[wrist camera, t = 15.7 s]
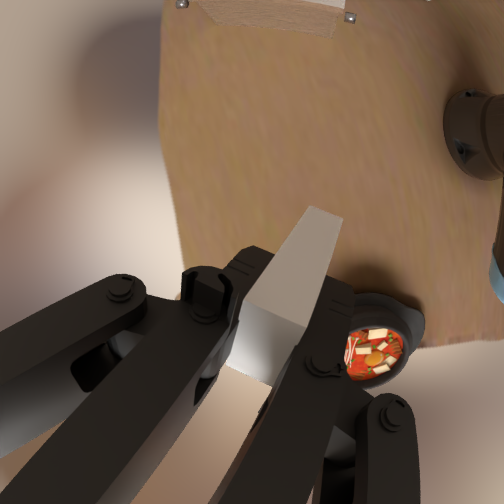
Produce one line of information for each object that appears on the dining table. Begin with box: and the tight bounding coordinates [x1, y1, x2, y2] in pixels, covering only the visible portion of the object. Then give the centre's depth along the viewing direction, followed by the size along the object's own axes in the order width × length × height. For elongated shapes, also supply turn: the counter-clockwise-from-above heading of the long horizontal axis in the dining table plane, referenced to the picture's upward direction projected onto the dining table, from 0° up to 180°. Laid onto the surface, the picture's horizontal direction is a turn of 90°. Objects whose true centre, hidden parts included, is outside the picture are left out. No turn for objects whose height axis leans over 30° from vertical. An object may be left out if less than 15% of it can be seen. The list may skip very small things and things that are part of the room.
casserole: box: [344, 292, 425, 390], centre depth 43 cm, size 25×19×8 cm
